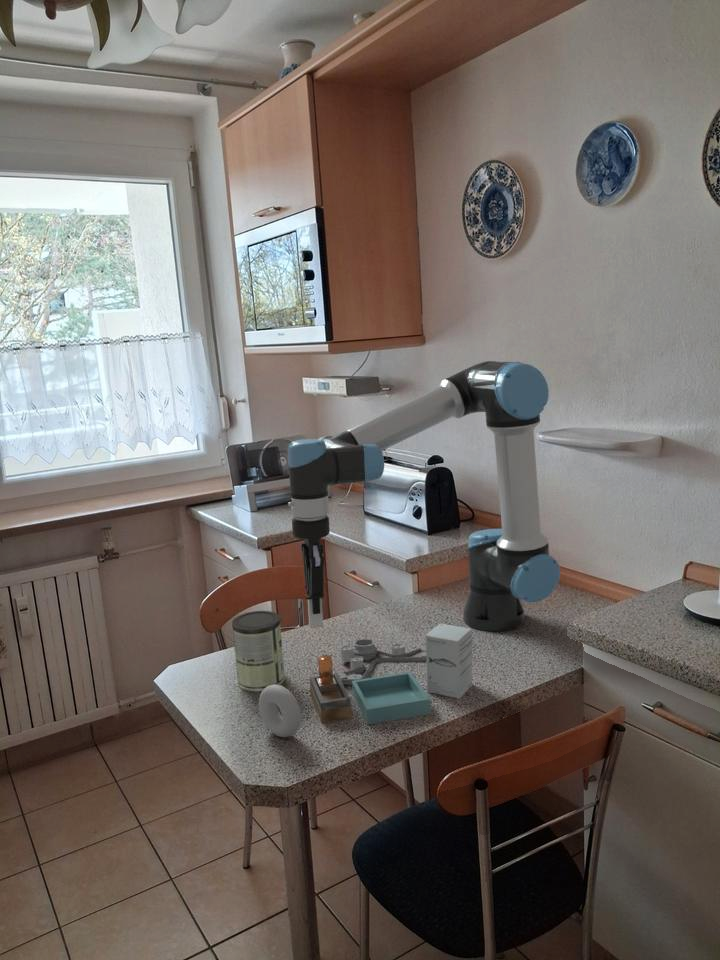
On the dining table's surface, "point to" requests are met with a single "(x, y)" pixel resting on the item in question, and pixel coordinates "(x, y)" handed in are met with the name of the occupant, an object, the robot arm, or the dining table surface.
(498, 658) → the dining table surface
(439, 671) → the supplement box
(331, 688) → the copper rounded cylinder
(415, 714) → the tray
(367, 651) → the pulley system
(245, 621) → the coffee can
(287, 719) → the donut
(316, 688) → the base
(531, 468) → the robot arm
